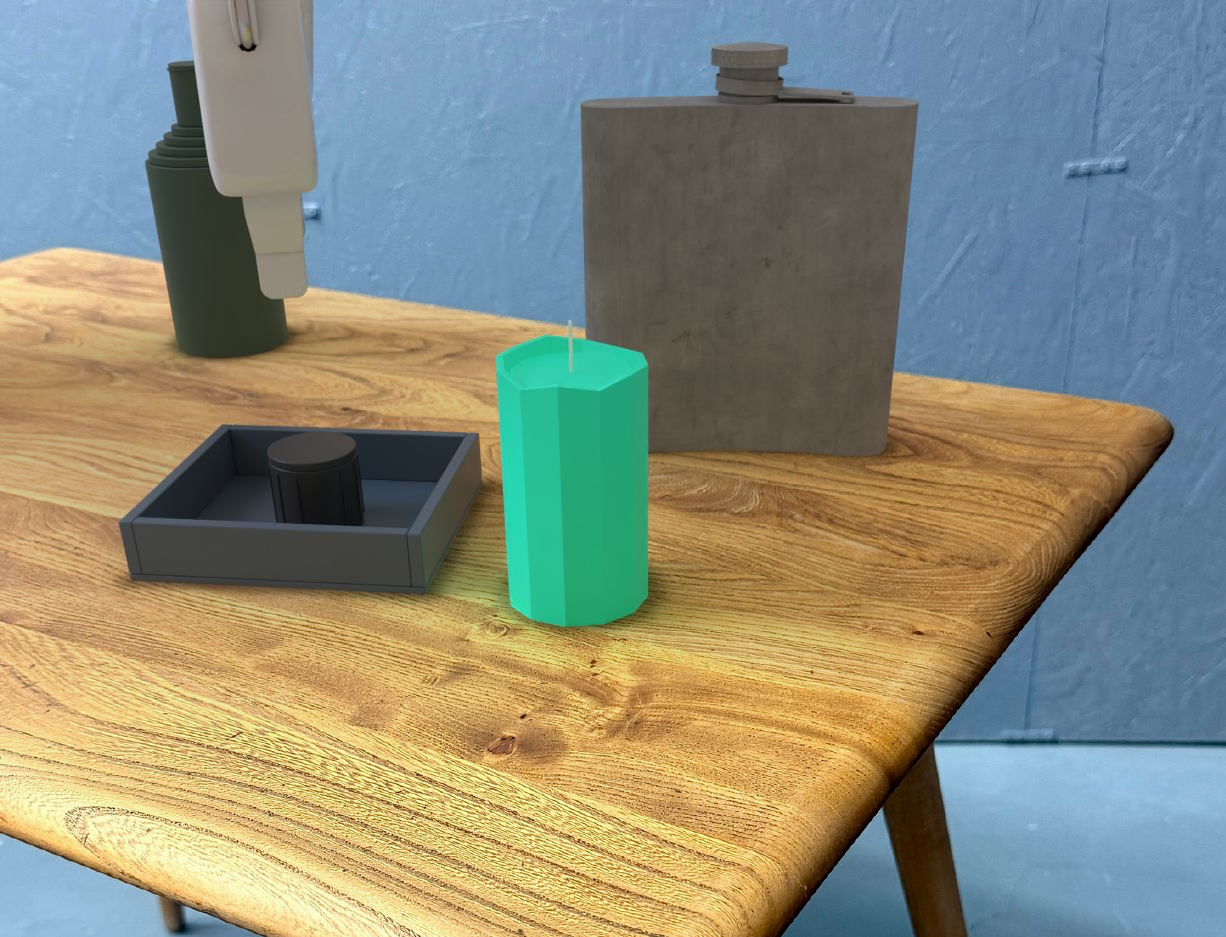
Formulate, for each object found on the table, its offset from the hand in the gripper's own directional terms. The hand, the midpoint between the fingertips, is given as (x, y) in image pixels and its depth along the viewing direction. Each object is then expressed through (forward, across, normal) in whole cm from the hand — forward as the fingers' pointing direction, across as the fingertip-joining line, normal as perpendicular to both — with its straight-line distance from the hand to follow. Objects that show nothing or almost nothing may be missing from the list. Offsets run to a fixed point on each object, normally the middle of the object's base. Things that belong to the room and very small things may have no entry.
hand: (286, 264), depth 56 cm
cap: (+12, 0, 0) cm, 12 cm away
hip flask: (+13, +6, -22) cm, 26 cm away
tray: (+13, 0, 0) cm, 13 cm away
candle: (+13, -9, -11) cm, 19 cm away
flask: (+13, +31, +5) cm, 34 cm away
